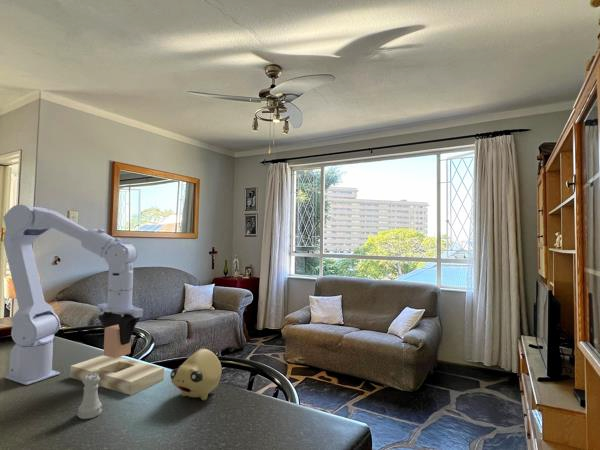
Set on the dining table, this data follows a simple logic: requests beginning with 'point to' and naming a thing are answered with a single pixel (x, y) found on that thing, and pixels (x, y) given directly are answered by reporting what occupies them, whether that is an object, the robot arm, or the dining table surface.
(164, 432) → the dining table surface
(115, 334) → the square peg
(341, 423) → the dining table surface
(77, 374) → the rail
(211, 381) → the yellow toy creature
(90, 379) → the rook chess piece
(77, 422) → the dining table surface
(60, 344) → the dining table surface
